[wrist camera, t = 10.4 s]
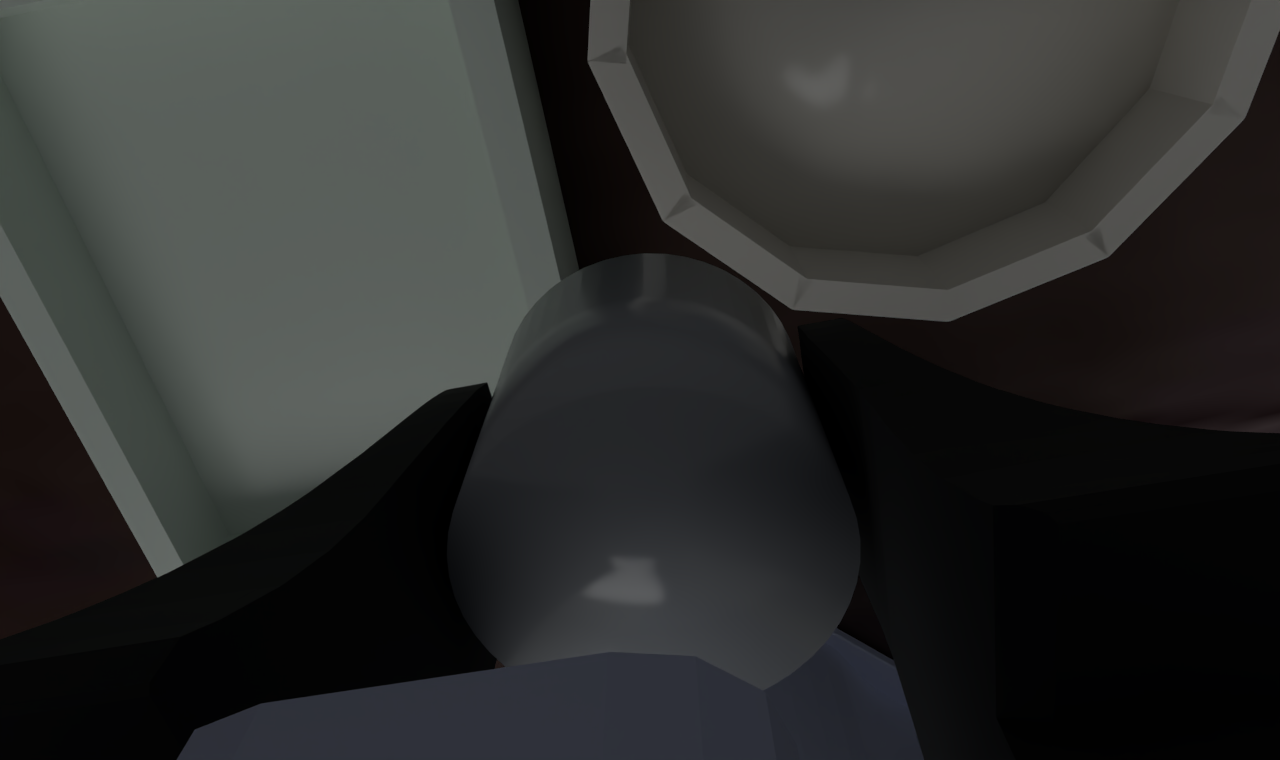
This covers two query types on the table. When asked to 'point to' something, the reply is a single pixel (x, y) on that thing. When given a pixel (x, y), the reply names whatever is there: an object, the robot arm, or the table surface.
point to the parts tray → (265, 233)
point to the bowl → (921, 133)
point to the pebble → (654, 481)
